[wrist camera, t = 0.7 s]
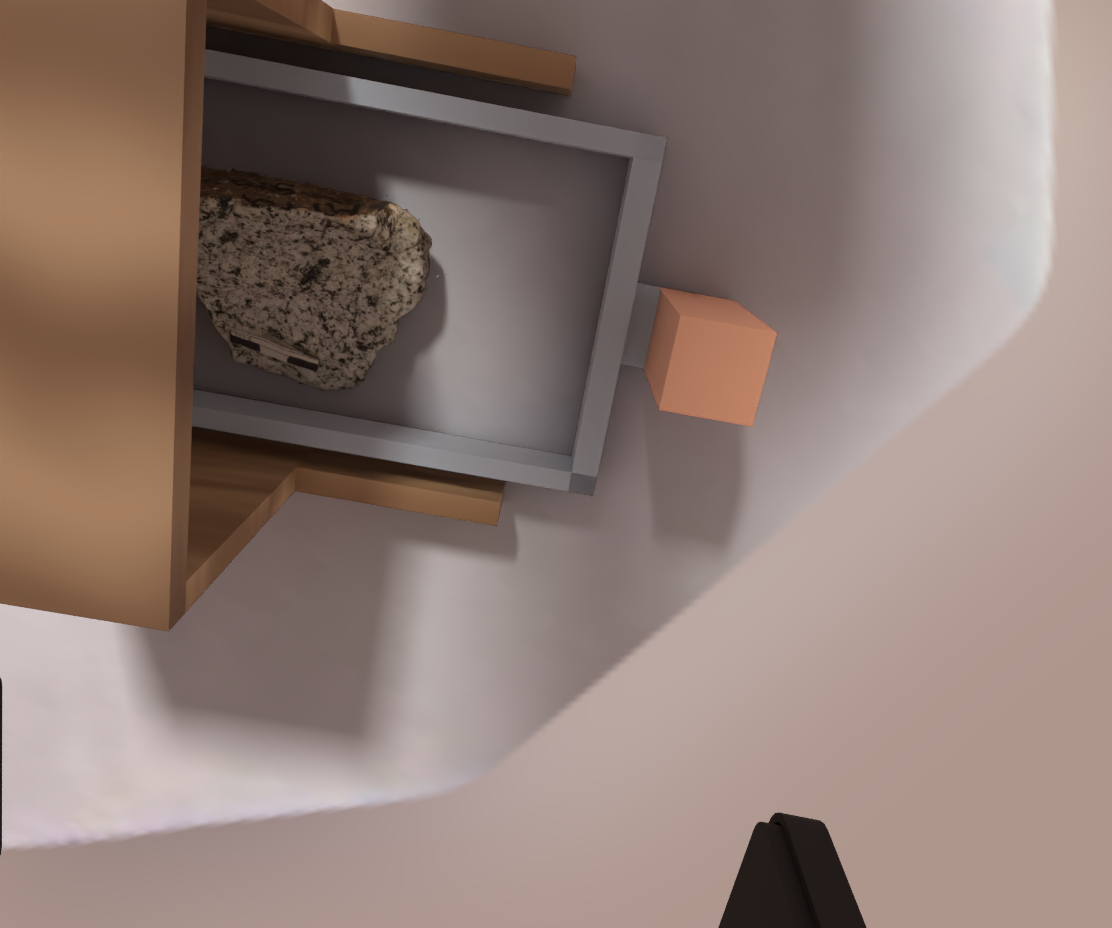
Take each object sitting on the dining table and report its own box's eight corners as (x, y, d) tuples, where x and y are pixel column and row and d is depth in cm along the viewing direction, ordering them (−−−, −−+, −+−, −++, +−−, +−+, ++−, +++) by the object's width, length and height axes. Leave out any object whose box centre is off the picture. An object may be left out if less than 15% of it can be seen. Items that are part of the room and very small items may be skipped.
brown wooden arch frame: (-155, -77, 28) (-711, -272, 16) (575, 65, 29) (576, -16, 17) (-112, 396, 34) (-503, 520, 22) (501, 503, 35) (462, 679, 23)
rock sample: (152, 443, 30) (133, 302, 23) (142, 272, 33) (122, 97, 26) (427, 429, 35) (485, 307, 27) (398, 278, 37) (443, 130, 30)
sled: (104, 33, 29) (-34, -10, 22) (769, 161, 30) (825, 155, 23) (104, 392, 33) (-12, 445, 27) (686, 495, 34) (714, 570, 28)
